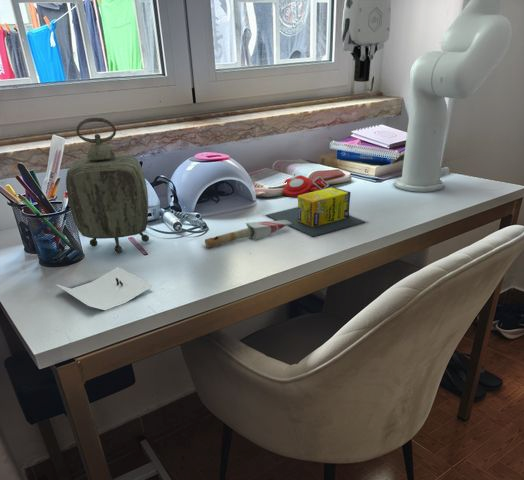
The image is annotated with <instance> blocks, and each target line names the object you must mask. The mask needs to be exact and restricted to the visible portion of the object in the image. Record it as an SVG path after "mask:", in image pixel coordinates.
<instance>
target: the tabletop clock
mask: <svg viewBox="0 0 524 480" xmlns="http://www.w3.org/2000/svg"><path fill="white" fill-rule="evenodd" d="M97 122H98V123H104V124H107V125H108V126H110V127H111V128H112V130H113V132H112V133H111V135H109V136H107V137H101V135H100V134H98V133H95V134H94V138H89V137H85V136H84V135H81V133H80V129H81V127H82V126H84V125H85V124H88V123H97ZM116 133H117V129H116V126H115V124H114V123H113V122H111V121H110V120H108V119H106V118H104V117H88V118H84V119H83V120H81V121H79V123H78V124H77V126H76V135H77V136H78V137H79V138H80V139H81V140H82V141H84V142H87V143H89V144H90V143H91V144H92V145H91V146H90V148H89V149H88V150H87V156H85V157H84V156H83V157H81V158H78V159H76V160H75V161H73V162H72V163H71V164H70V167H69V168H68V169H67V172H66V175H65V176H66V177H65V190H66V196H67V202H68V206H69V210H70V213H71V216H72V219H73V222H74V224H75V226H76V228H77V230H78V231H79V233H80V234H81V235H82V237H85V238H88V239H90V240H89V246H91V247H92V248H95V247H97V246H98V242H99V241H98V239H99V240H101V239H114V241H115V242H114V243H115V246H114V252H115V253H116V254H121V253H122V252H123V247H122V245H120V239H119V238H127V237H132V236H137V235H139V236H140V237H141V238H140V239H141V241H142V242H143V243H147V242H149V240H150V237H149V235H148V234H145V233H144V232H145V231H147V227H148V222H149V221H148V219H149V195H148V185H147V182H146V178H145V172H144V170H143V168H142V165H141V163H140V161H139V160H138V158H137V157H135V156H133V155H128V154H116V153H115V151H114V150H113V148H112V147H111V146H110V145H109V144H105V143H106V142H110V141H111V140H113V139H114V138H115V136H116Z"/></svg>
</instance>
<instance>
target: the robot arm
mask: <svg viewBox="0 0 524 480" xmlns="http://www.w3.org/2000/svg"><path fill="white" fill-rule="evenodd" d="M391 1H392V0H344V5H343V11H342V13H343V14H342V20H341V21H342V23H341V40H342V42H343V46H342V50H343V51H344V52H347V53H350V54H351V56H352V60H353V61H354V71H353V81H354V82H359V83H360V82H361V83H365V82H369V81H370V73H371V61H373V60H374V56H375V54H376V53H377V51H380V50H382V49H383V48H384V46H385V45H384V43H387V42H388V40H389V38H390V31H391V14H392V13H391V11H392V10H391V9H392V5H391V3H392V2H391ZM504 6H505V5H504V0H469V1H468V2H467V4H466V5H465V7H464V8H463V9H462V10H461V12H460V13H459V14H458V16H456V18H455V19H454V20H453V22H452V23H451V24H450V25H449V27H448V28H447V30H446V31H445V33H444V34H443V36H442V39H441V42H440V50H437V51H436V50H435V51H433V50H432V51H428V52H427V51H426V52H425V53H422V54H421V55H419V56H418V57H417V58H416V59H415V60H414V62H413V63H412V65H411V68H410V72H409V98H410V99H409V114H408V122H407V131H406V139H405V147H404V154H403V163H402V170H401V171H402V173H401V177H398V178H397V179H395V181H394V186H395V187H397V188H398V189H399V190H403V191H409V192H421V193H422V192H424V193H425V192H427V193H428V192H435V191H439V190H441V189H443V187H444V181H443V180H441V177H442V176H446V175H448V174H449V173H450V168H449V167H448V166H445V167H441V162H442V157H443V150H444V144H445V137H446V131H447V125H448V121H449V118H448V117H449V109H448V104H447V101H446V99H461V100H462V99H467V98H469V97H470V96H472V95H473V94H474V93H476V91H478V89H479V88H480V87H481V85H483V83H484V82H485V81H486V79H488V77H489V76H490V74H491V73H492V72H494V70H495V68H497V66H498V64H500V62H501V61H502V60H503V58H504V56H505V55H506V53H507V51H508V49H509V47H510V44H511V41H512V35H513V27H512V24H511V21H510V20H509V18H508V17H506V16H505V15H503V12H504Z"/></svg>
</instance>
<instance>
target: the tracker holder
mask: <svg viewBox="0 0 524 480" xmlns="http://www.w3.org/2000/svg"><path fill="white" fill-rule="evenodd" d="M286 182H287V185H286V188H284V189H283V191H282V190H281V192H282V194H283V196H286V197H288V198H298V195H302V194H306V193H310V192H314V191H319V190H323V189H327V188H329V186H330V184H329V183H328V182H327V181H325V179H323V178H322V177H321V176H320V175H318V176H316V178H315V179H314V180H311V179H310V178H308V177H307V176H304V175H301V174H300V175H296V176H292V177H290V178H286V179H285V180H284V182H283V184H284V183H286Z"/></svg>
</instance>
